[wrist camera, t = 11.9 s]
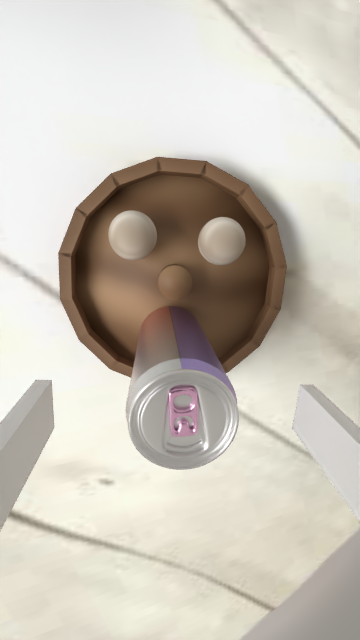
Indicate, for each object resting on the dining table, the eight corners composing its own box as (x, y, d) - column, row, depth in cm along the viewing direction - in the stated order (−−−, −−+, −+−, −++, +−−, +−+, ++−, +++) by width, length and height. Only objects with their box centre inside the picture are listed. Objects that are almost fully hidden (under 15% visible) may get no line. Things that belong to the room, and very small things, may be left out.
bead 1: (112, 211, 26) (104, 205, 22) (158, 214, 27) (158, 209, 23) (112, 257, 27) (104, 260, 23) (156, 260, 28) (155, 263, 24)
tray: (64, 156, 26) (52, 145, 23) (288, 175, 28) (303, 167, 25) (70, 371, 31) (61, 385, 28) (260, 376, 32) (270, 389, 29)
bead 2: (197, 217, 27) (203, 213, 23) (240, 220, 27) (254, 216, 23) (193, 262, 28) (199, 265, 24) (236, 264, 28) (248, 268, 24)
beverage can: (200, 302, 29) (244, 363, 14) (201, 360, 30) (242, 468, 16) (137, 305, 28) (118, 371, 14) (142, 364, 30) (128, 478, 15)
